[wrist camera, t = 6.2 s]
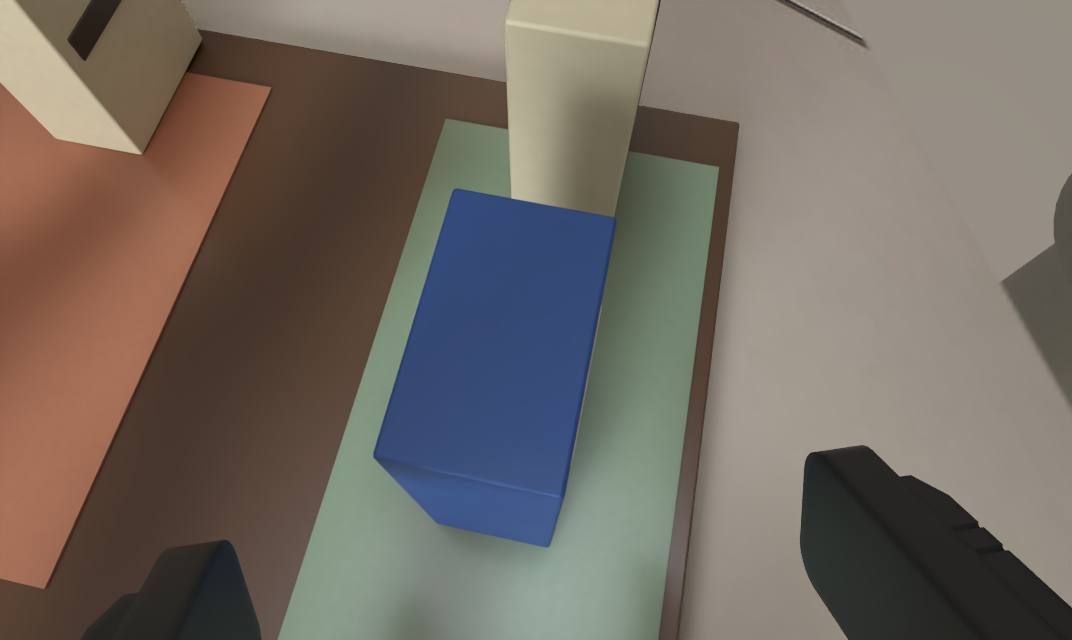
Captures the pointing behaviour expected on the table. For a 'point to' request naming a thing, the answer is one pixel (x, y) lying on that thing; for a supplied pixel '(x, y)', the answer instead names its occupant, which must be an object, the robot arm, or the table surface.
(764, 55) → the table surface
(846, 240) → the table surface
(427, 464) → the blue rectangular block
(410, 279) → the brown flat rectangular board
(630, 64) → the tile
